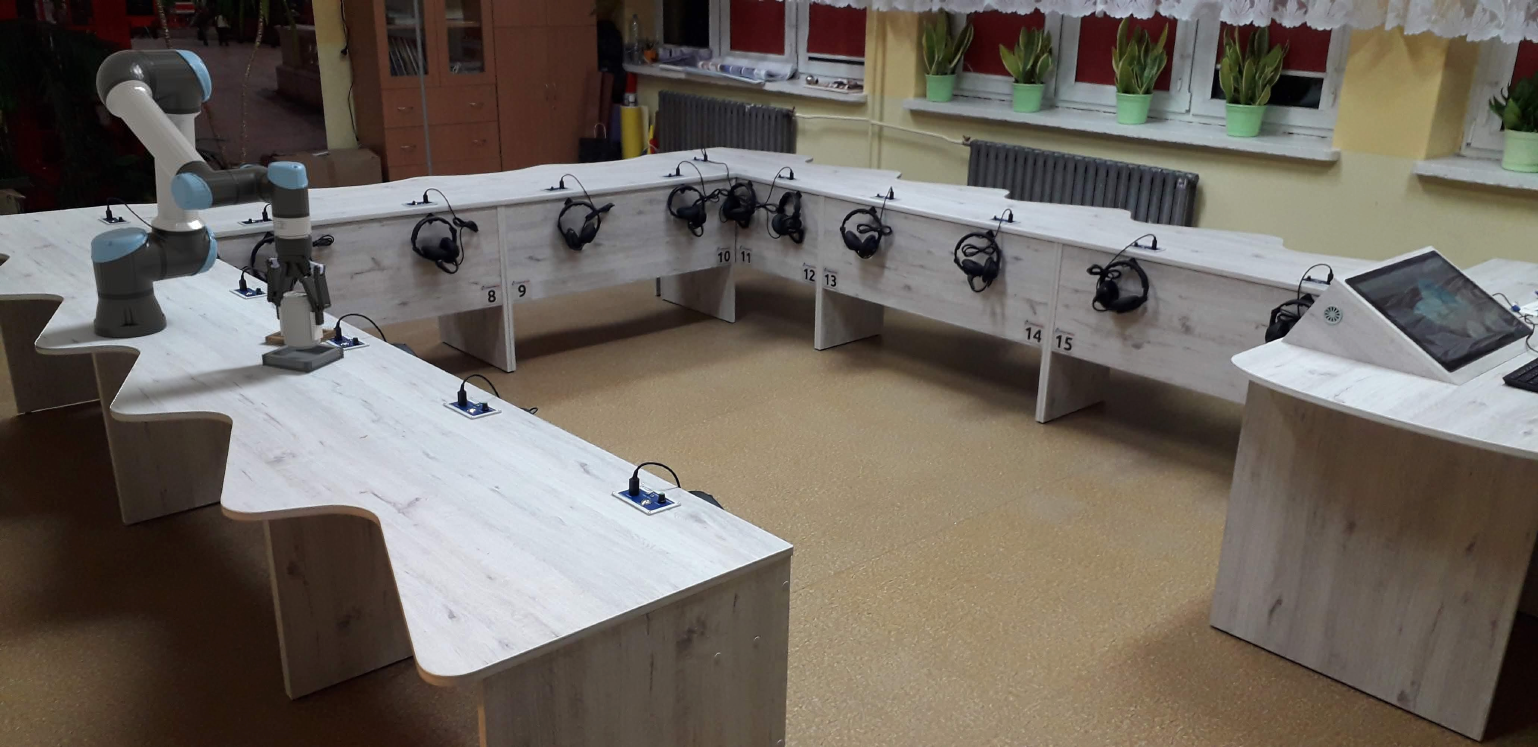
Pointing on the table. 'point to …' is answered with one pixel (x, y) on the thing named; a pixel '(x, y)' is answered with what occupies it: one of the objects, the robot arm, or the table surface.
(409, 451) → the table surface
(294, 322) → the can
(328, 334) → the frame
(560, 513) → the table surface
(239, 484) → the table surface
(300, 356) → the tray
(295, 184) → the robot arm
